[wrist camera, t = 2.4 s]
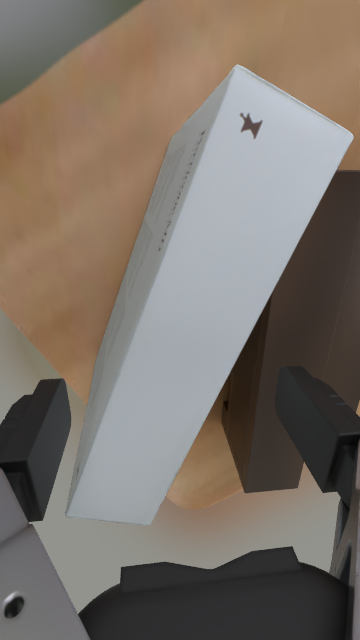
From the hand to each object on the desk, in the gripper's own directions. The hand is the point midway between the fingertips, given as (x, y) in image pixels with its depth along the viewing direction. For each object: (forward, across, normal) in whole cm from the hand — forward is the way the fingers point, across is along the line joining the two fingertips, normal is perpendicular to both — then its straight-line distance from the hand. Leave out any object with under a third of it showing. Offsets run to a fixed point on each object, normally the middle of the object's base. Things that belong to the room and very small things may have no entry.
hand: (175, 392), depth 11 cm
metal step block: (+18, -14, +5) cm, 23 cm away
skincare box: (+18, 0, 0) cm, 18 cm away
